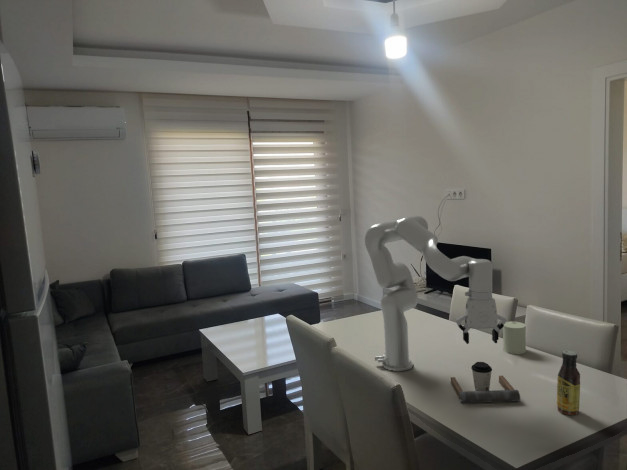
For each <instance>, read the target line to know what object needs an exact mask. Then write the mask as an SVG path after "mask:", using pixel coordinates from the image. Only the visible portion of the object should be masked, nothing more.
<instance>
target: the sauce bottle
mask: <svg viewBox="0 0 627 470" xmlns="http://www.w3.org/2000/svg"><path fill="white" fill-rule="evenodd" d="M561 356H562V364H561V366H560V368H559V371H558V373H557V384H556V386H557V388H556V407H557V410H558V411H559V413H562V414H564V415H566V416H576V415H578V414H579V413H580V412H579V410H580V397H581V396H580V395H581V374H580V371H579V369H578V368H577V359H578V353H577V351H574V350H568V349H566V350H563V351H562V353H561Z"/></svg>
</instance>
